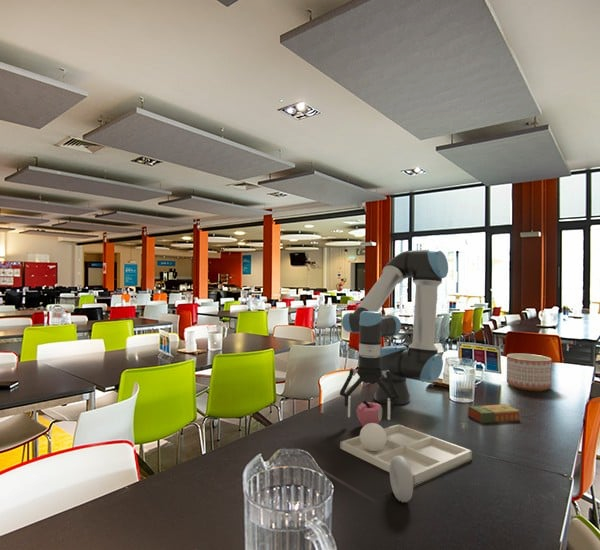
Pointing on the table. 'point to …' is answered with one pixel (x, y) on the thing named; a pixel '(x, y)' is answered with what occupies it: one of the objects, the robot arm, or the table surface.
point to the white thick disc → (401, 479)
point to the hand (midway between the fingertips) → (368, 417)
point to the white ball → (373, 437)
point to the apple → (369, 413)
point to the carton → (493, 413)
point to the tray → (411, 452)
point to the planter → (529, 372)
